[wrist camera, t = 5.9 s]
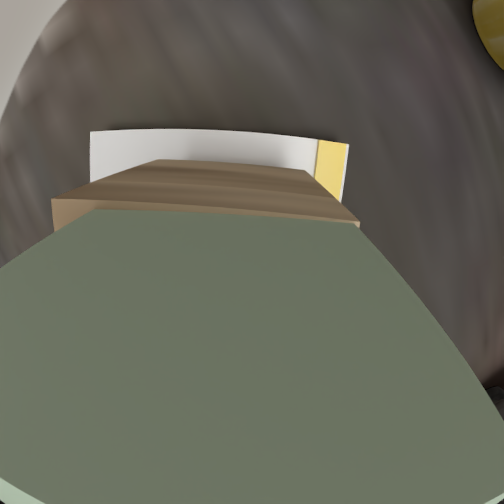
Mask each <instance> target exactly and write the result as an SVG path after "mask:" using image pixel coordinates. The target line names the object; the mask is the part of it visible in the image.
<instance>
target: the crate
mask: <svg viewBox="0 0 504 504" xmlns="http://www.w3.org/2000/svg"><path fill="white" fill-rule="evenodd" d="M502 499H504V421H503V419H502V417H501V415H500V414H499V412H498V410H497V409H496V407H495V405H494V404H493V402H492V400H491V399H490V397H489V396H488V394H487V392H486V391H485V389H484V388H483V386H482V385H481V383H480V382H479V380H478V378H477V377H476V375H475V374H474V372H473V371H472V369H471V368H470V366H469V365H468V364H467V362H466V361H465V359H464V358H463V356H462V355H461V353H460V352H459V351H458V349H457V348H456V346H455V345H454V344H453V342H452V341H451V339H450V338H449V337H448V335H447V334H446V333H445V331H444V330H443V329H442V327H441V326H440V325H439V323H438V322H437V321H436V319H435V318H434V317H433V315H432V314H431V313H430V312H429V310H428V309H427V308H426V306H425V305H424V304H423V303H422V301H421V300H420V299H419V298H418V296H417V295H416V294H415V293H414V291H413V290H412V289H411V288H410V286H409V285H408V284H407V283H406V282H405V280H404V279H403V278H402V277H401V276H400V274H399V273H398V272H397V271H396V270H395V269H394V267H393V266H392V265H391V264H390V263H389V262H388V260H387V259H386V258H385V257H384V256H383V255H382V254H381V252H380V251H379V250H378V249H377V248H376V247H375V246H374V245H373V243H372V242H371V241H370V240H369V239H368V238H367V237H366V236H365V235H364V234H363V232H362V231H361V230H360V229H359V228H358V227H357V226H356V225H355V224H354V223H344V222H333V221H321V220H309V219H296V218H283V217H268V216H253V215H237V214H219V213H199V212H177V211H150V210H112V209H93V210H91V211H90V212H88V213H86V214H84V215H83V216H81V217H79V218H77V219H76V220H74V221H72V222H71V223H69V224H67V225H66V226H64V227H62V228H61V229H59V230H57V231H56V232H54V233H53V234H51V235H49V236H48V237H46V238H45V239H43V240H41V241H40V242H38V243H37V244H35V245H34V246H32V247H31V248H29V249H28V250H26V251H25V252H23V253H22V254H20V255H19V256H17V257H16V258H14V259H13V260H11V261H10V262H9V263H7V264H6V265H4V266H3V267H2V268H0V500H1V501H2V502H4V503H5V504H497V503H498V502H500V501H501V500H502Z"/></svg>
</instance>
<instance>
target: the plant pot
mask: <svg viewBox="0 0 504 504" xmlns="http://www.w3.org/2000/svg"><path fill="white" fill-rule="evenodd" d="M472 11H473V19H474V22H475V26H476V29H477V31H478V34H479V36H480V38H481V40H482V42H483V44H484V46H485V48H486V49H487V51H488V53H489V54H490V56H491V57H492V58H493V59H494V61H495V62H496V63H497V64H498V65H499V66H500V68H502V69H503V70H504V0H473V5H472Z"/></svg>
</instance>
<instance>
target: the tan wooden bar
mask: <svg viewBox="0 0 504 504" xmlns="http://www.w3.org/2000/svg"><path fill="white" fill-rule="evenodd" d="M51 203H52V214H53V223H54V231H55V232H56V231H57V230H59V229H61V228H62V227H64V226H66V225H67V224H69V223H71V222H72V221H74V220H76V219H77V218H79V217H81V216H83V215H84V214H86V213H88V212H90V211H91V210H93V209H112V210H150V211H177V212H199V213H219V214H237V215H253V216H268V217H283V218H296V219H309V220H321V221H333V222H344V223H354V224H355V225H356V226H357V227H358V228H359V226H360V221H359V220H358V219H357V218H356V217H355V216H354V215H353V214H352V213H351V212H350V211H349V210H347V209H346V208H345V207H344V206H343V205H342V204H341V203H340V202H339V201H338V200H337V199H336V198H335V197H334V196H333V195H332V194H331V193H330V192H329V191H327V190H326V189H325V188H324V187H323V186H322V185H321V184H320V183H319V182H318V181H317V180H315V179H314V178H313V177H312V176H311V175H310V174H309V173H308V172H306V171H305V170H300V169H292V168H283V167H274V166H264V165H253V164H241V163H228V162H213V161H195V160H170V159H157V160H154V161H151V162H148V163H144V164H141V165H138V166H135V167H132V168H129V169H126V170H124V171H121V172H118V173H115V174H112V175H109V176H107V177H104V178H101V179H99V180H96V181H93V182H91V183H88V184H86V185H83V186H81V187H78V188H76V189H73V190H71V191H68V192H66V193H63V194H61V195H59V196H56V197H54V198H52V199H51Z"/></svg>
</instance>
